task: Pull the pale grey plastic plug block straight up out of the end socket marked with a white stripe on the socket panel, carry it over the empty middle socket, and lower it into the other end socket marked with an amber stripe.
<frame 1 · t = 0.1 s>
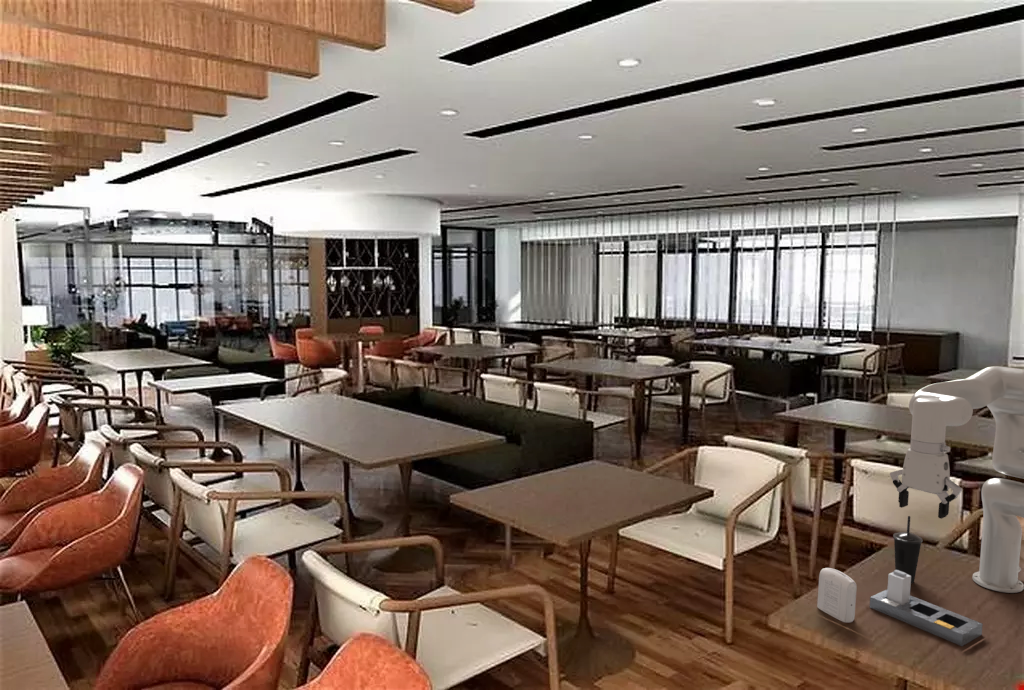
hand: (922, 511, 187), 31 cm above the table, tool pointing down, fingers open, 9 cm apart
plug: (897, 609, 199), resting on socket panel
drinking cup: (904, 581, 217), on the table
socket panel: (923, 621, 193), on the table
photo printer: (835, 615, 197), on the table
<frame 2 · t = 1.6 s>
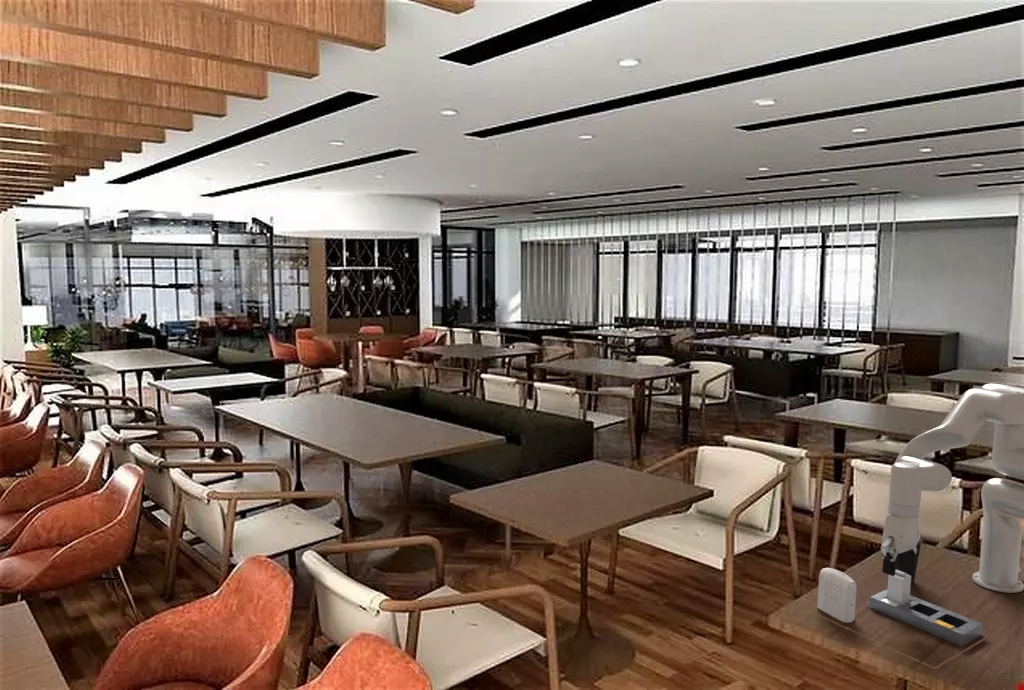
hand: (898, 570, 197), 12 cm above the table, tool pointing down, fingers open, 9 cm apart
nothing on the table moved.
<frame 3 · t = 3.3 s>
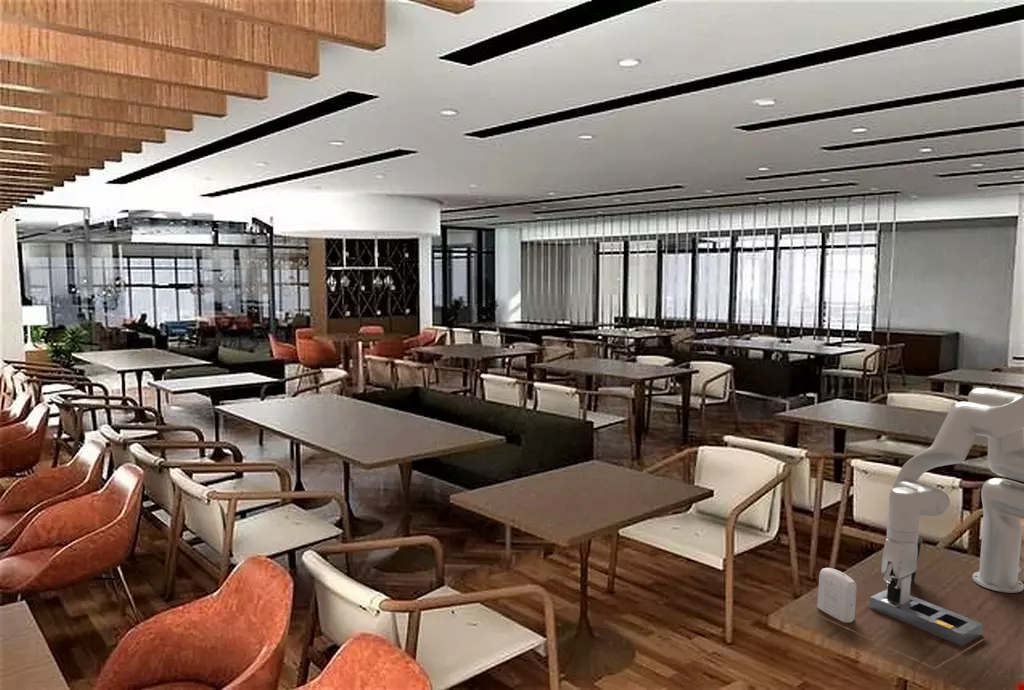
hand: (898, 597, 199), 4 cm above the table, tool pointing down, fingers closed on plug, 4 cm apart
plug: (897, 609, 199), resting on socket panel, touching gripper
everything else where it was.
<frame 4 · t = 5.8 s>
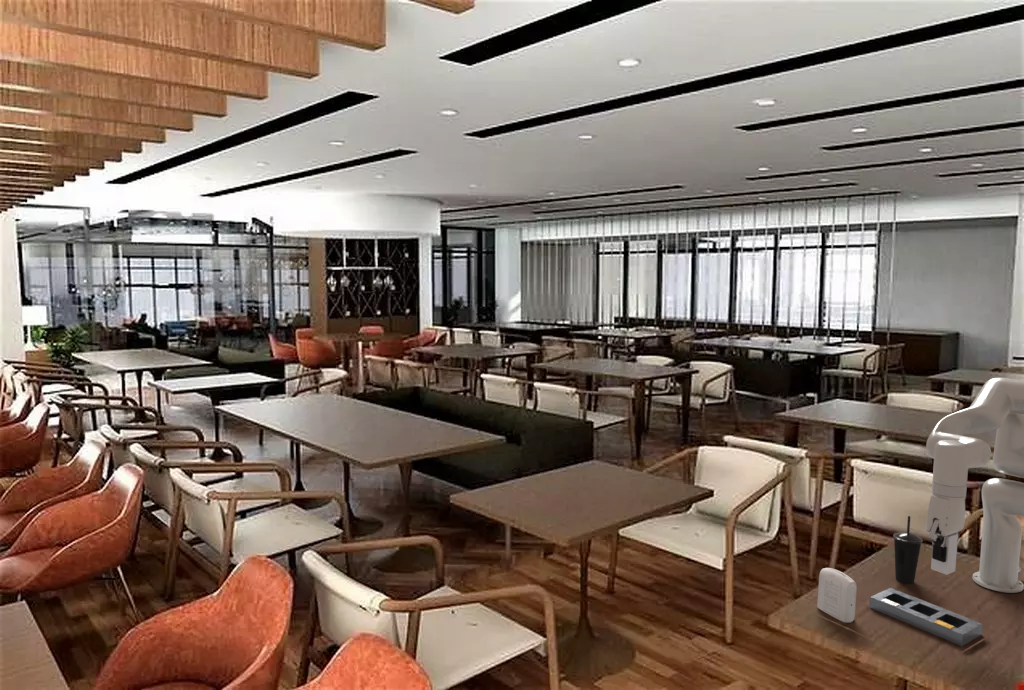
hand: (944, 557, 188), 19 cm above the table, tool pointing down, fingers closed on plug, 4 cm apart
plug: (943, 570, 188), point 16 cm above the table, touching gripper
everything else where it was.
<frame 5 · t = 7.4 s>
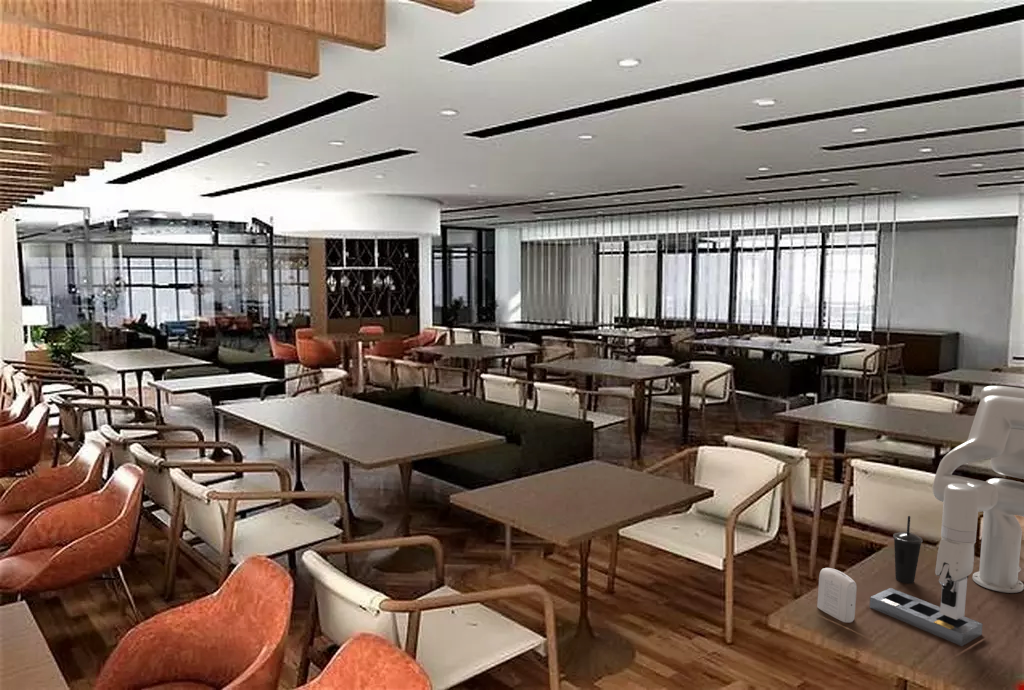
hand: (953, 601, 186), 9 cm above the table, tool pointing down, fingers closed on plug, 4 cm apart
plug: (952, 614, 187), point 5 cm above the table, touching gripper
everything else where it was.
when the fingers open (5 cm above the table, at t = 8.6 s): plug drops 1 cm, resting on socket panel.
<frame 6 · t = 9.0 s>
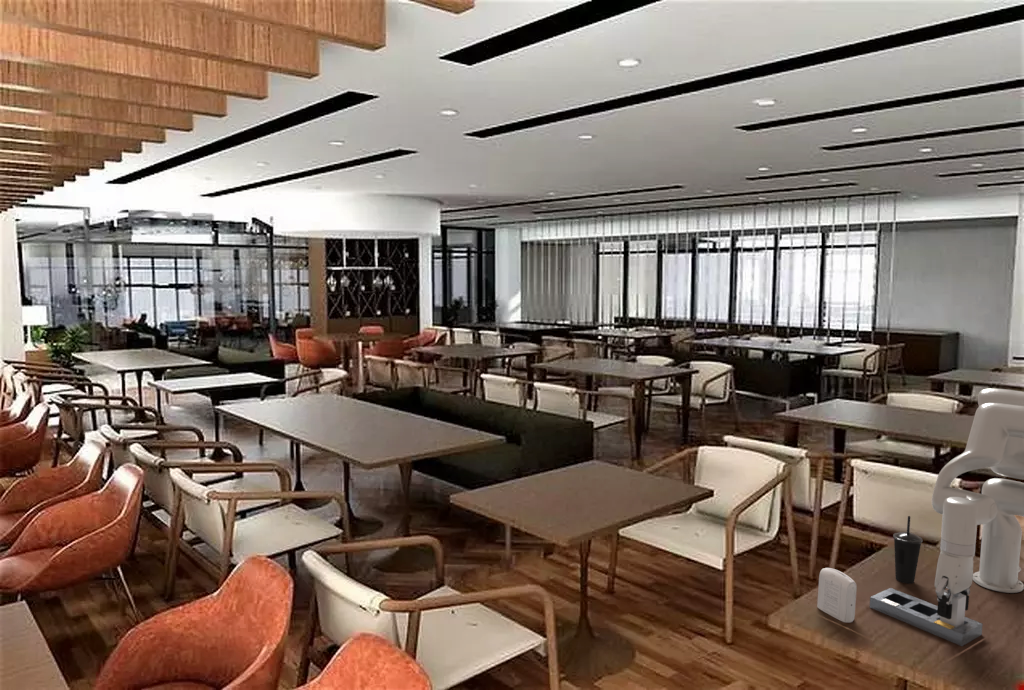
hand: (952, 612, 187), 6 cm above the table, tool pointing down, fingers open, 7 cm apart
plug: (951, 631, 187), resting on socket panel
everything else where it was.
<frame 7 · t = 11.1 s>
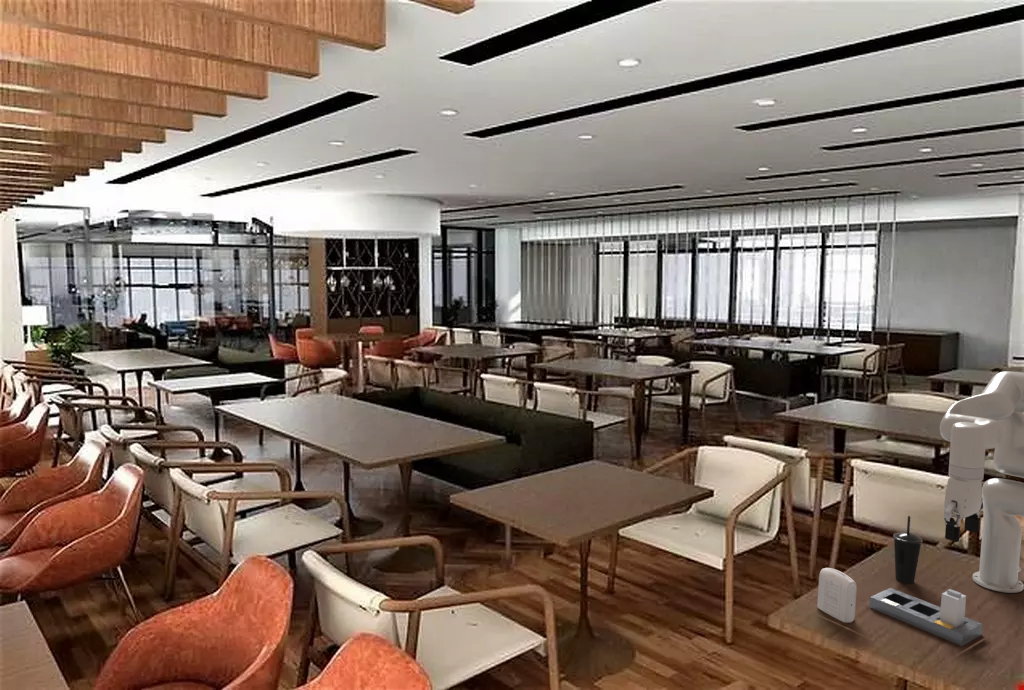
hand: (961, 535, 187), 25 cm above the table, tool pointing down, fingers open, 9 cm apart
nothing on the table moved.
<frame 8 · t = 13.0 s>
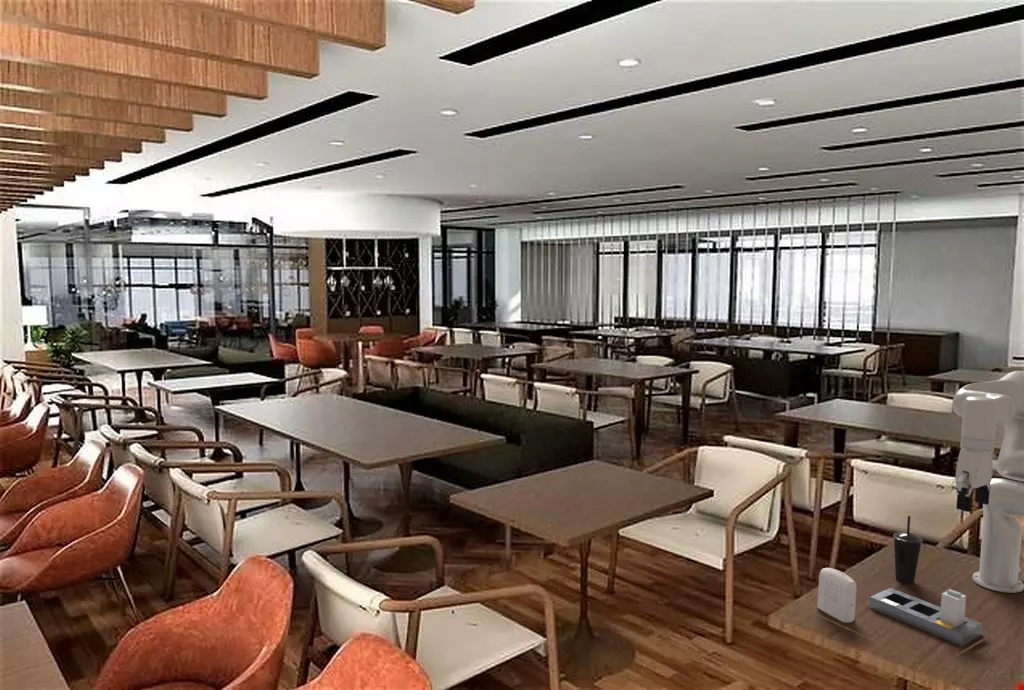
hand: (972, 506, 193), 30 cm above the table, tool pointing down, fingers open, 9 cm apart
nothing on the table moved.
at the end: plug 0.1 cm from the target spot on the socket panel, point 0.4 cm above the socket panel's base; plug tilted 0°; the gripper is holding nothing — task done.
